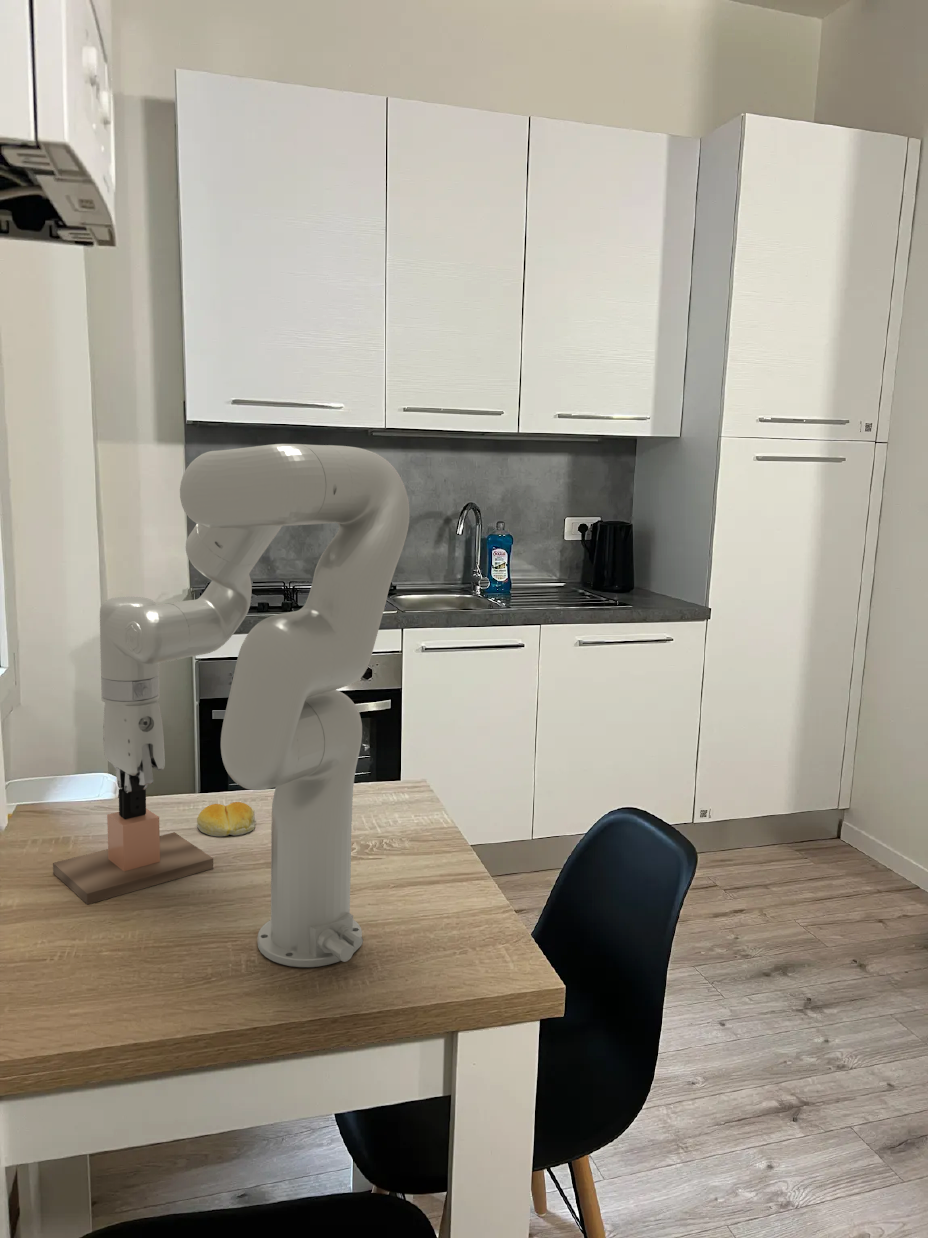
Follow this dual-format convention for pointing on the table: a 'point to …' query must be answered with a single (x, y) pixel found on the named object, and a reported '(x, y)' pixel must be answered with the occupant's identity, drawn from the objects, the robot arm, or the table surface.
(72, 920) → the table surface
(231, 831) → the bread roll
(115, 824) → the salmon orange block
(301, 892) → the robot arm
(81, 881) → the flat brown rectangular board
